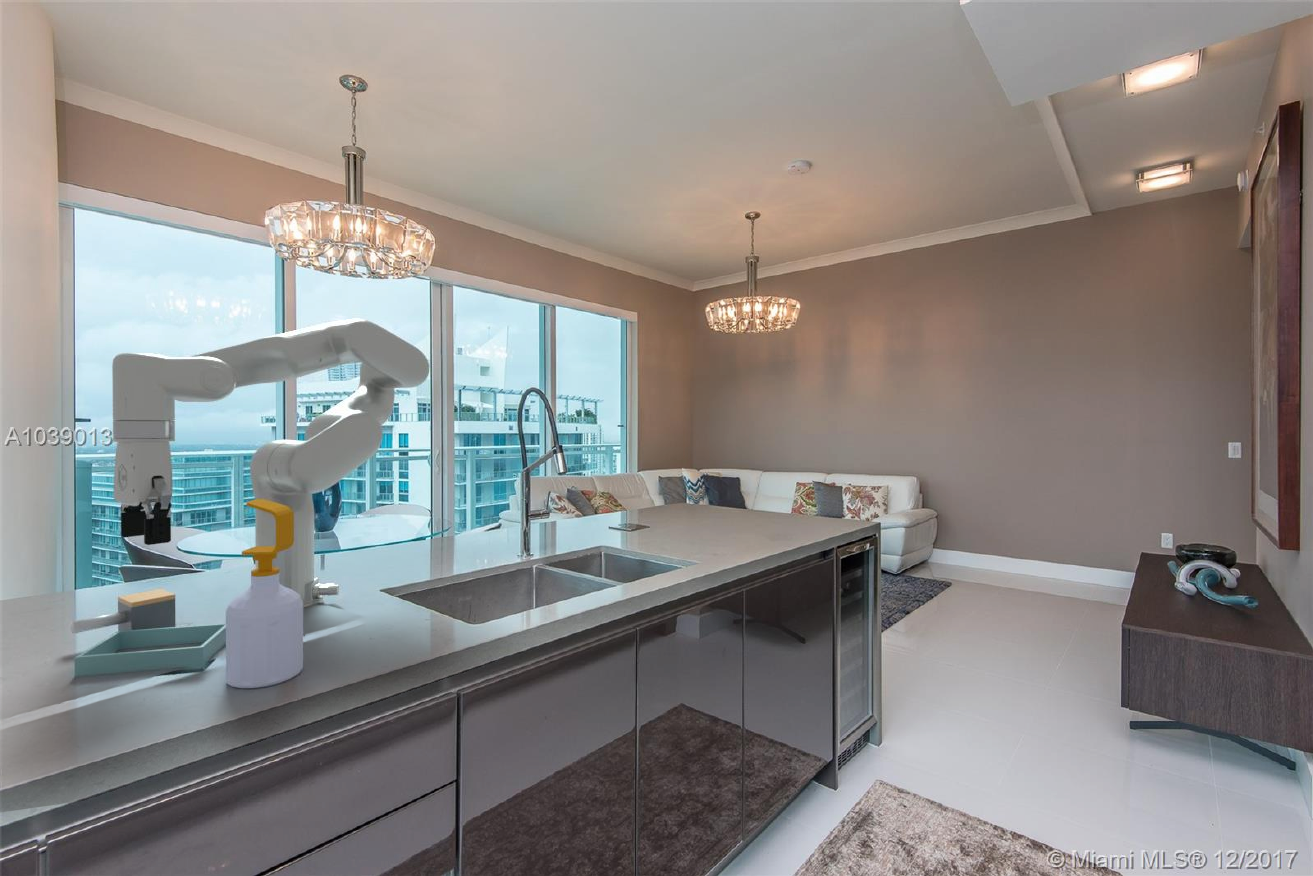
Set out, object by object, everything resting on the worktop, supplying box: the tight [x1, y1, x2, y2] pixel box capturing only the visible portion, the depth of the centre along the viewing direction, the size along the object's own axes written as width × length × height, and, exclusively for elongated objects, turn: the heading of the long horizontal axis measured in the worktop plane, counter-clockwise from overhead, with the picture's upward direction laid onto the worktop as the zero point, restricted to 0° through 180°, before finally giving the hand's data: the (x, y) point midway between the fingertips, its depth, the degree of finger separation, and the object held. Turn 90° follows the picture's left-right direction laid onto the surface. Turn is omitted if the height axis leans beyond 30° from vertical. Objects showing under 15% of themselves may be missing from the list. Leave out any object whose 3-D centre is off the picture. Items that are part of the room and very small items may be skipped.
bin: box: [73, 622, 226, 677], centre depth 89 cm, size 15×11×4 cm
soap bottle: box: [225, 499, 304, 689], centre depth 85 cm, size 9×9×25 cm
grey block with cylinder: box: [70, 588, 176, 634], centre depth 95 cm, size 12×6×6 cm, turn 147°
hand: (145, 539), depth 97 cm, fingers open, 9 cm apart
